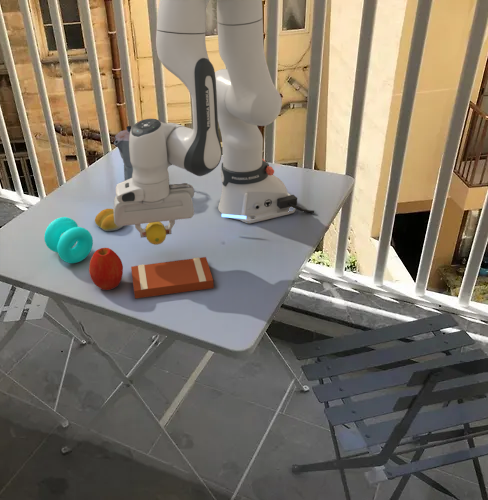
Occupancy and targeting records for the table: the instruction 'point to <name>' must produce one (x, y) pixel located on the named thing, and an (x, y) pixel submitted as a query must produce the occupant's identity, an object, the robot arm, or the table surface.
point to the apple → (106, 269)
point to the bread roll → (106, 220)
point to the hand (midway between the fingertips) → (155, 234)
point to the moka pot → (124, 151)
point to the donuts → (68, 240)
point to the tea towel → (171, 277)
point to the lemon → (155, 233)
